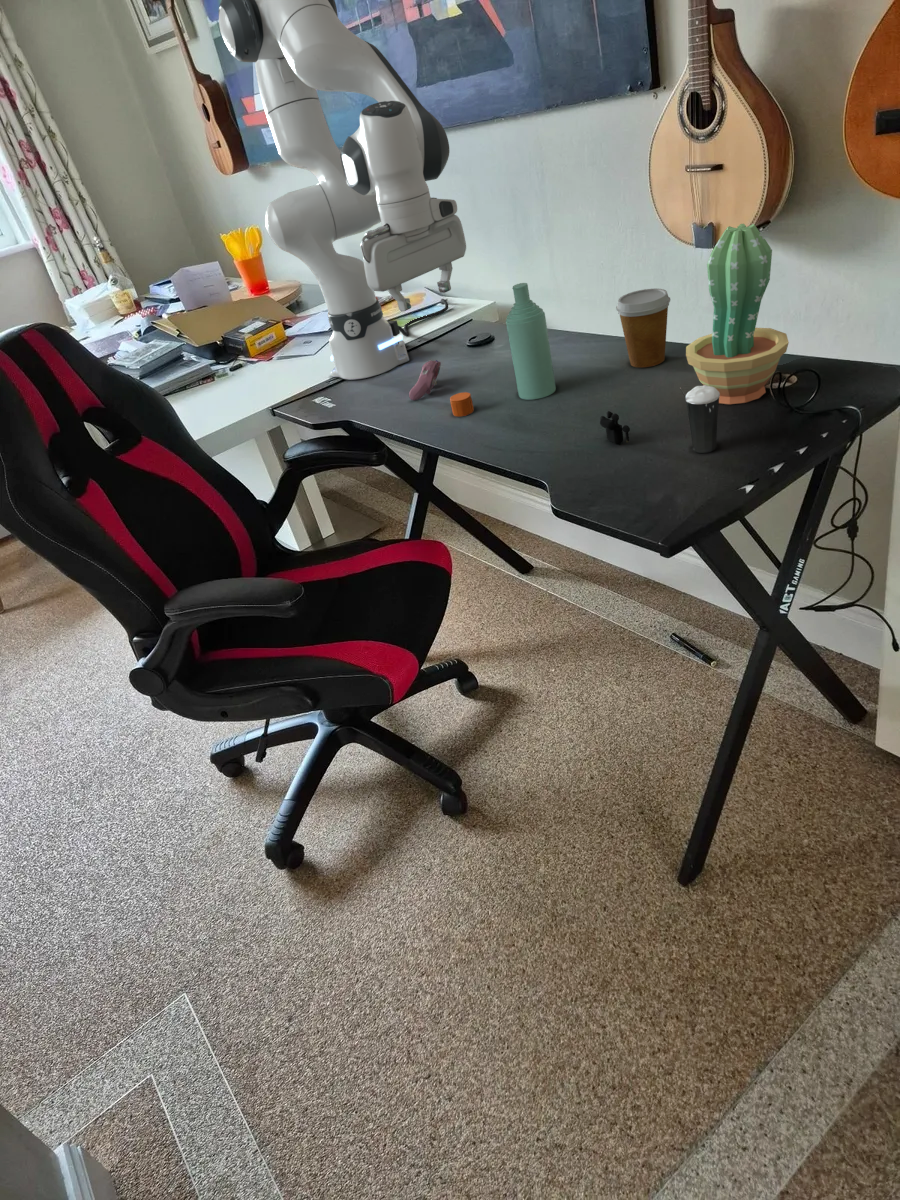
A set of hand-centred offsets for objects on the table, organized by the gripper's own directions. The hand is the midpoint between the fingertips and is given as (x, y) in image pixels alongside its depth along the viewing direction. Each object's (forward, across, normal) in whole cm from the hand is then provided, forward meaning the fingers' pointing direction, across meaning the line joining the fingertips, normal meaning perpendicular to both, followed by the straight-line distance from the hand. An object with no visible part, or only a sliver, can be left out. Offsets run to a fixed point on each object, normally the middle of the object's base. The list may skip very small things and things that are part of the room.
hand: (425, 300), depth 137 cm
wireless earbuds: (+20, 0, -40) cm, 44 cm away
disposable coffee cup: (+20, +30, -24) cm, 43 cm away
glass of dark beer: (+19, +3, -53) cm, 57 cm away
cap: (+20, 0, -4) cm, 21 cm away
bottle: (+20, +12, -12) cm, 26 cm away
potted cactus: (+20, +22, -47) cm, 55 cm away
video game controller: (+21, +5, +12) cm, 25 cm away
